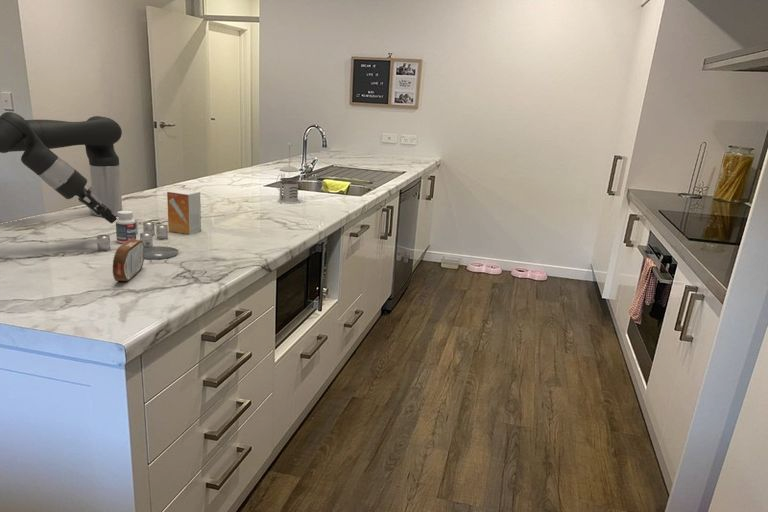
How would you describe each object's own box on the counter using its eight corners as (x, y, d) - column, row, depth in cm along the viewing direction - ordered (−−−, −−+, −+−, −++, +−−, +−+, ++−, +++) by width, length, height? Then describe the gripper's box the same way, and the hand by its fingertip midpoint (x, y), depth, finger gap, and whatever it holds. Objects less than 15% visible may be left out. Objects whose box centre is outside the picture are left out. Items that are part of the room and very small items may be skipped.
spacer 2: (138, 248, 158) (137, 234, 157) (144, 245, 161) (143, 232, 160) (149, 249, 158) (148, 235, 157) (154, 246, 161) (154, 233, 160)
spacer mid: (141, 236, 171) (140, 223, 169) (146, 233, 174) (146, 221, 173) (151, 236, 170) (150, 224, 169) (156, 234, 173) (156, 222, 172)
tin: (134, 266, 143) (132, 234, 140) (147, 267, 143) (145, 235, 141) (112, 286, 128) (109, 251, 126) (126, 286, 129) (124, 251, 126)
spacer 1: (124, 234, 171) (123, 221, 170) (130, 232, 174) (129, 219, 173) (134, 235, 171) (133, 222, 169) (139, 233, 174) (139, 220, 173)
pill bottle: (129, 244, 161) (127, 214, 158) (113, 242, 162) (110, 212, 159) (140, 240, 166) (138, 211, 163) (124, 238, 167) (122, 209, 164)
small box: (168, 231, 178) (166, 191, 174) (180, 227, 183) (179, 188, 180) (189, 235, 175) (188, 194, 172) (201, 230, 181) (200, 191, 178)
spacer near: (95, 251, 153) (94, 237, 152) (102, 248, 156) (101, 234, 155) (106, 252, 153) (105, 238, 152) (112, 249, 156) (111, 235, 155)
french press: (305, 202, 239) (306, 143, 232) (286, 205, 229) (287, 144, 222) (287, 198, 244) (288, 140, 237) (269, 201, 234) (269, 141, 227)
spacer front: (154, 239, 168) (154, 226, 167) (159, 236, 171) (159, 224, 170) (164, 240, 168) (164, 227, 167) (169, 237, 171) (169, 225, 170)
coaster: (127, 257, 149) (127, 255, 149) (148, 246, 160) (148, 244, 160) (166, 261, 148) (166, 259, 148) (185, 250, 159) (185, 248, 159)
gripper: (50, 183, 154) (98, 221, 164) (54, 192, 143) (106, 233, 153) (70, 164, 156) (117, 203, 165) (76, 172, 145) (126, 213, 154)
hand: (111, 217), depth 159 cm, fingers open, 8 cm apart
